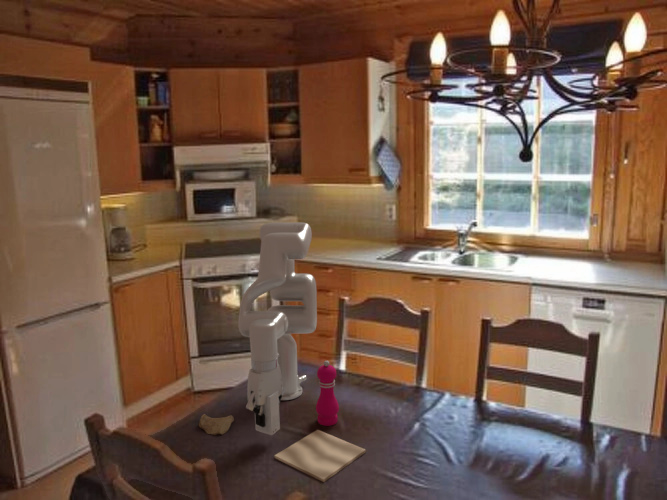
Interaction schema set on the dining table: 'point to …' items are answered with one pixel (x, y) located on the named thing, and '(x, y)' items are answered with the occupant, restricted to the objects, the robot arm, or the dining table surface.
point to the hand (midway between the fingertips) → (267, 421)
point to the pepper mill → (327, 396)
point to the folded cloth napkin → (320, 455)
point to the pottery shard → (215, 424)
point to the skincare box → (270, 415)
